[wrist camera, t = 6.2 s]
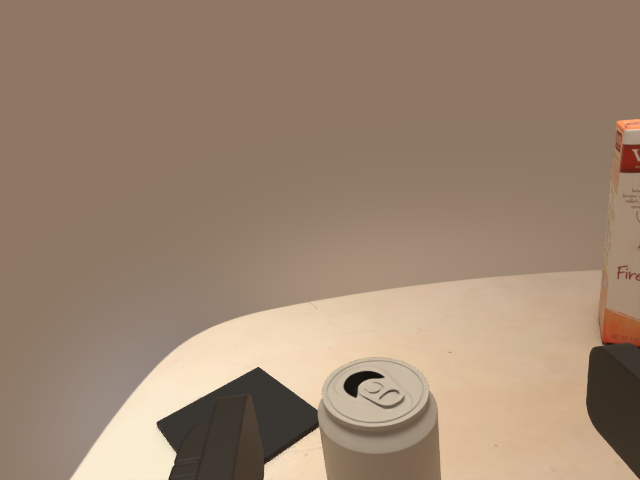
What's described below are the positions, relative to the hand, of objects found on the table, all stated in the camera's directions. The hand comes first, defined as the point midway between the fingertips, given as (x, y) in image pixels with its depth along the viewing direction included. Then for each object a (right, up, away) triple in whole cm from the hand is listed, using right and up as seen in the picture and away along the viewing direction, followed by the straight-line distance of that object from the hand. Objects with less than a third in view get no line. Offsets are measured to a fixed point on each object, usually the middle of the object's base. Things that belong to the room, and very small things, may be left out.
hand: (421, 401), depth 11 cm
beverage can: (+2, -15, +17) cm, 23 cm away
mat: (-10, -12, +29) cm, 33 cm away
